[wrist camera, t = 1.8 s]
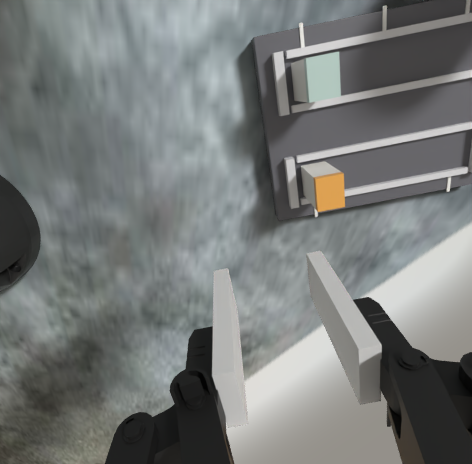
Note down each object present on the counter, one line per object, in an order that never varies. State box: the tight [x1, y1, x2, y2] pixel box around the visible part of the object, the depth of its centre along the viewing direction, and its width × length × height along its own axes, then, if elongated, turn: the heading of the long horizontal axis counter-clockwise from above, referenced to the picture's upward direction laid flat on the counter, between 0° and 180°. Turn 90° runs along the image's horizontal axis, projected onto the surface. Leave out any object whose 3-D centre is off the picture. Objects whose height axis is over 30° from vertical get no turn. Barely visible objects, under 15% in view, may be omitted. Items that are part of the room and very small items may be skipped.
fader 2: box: [301, 161, 345, 212], centre depth 29 cm, size 2×3×5 cm
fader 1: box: [291, 52, 341, 103], centre depth 25 cm, size 2×3×5 cm
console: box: [251, 0, 472, 221], centre depth 30 cm, size 22×18×3 cm
